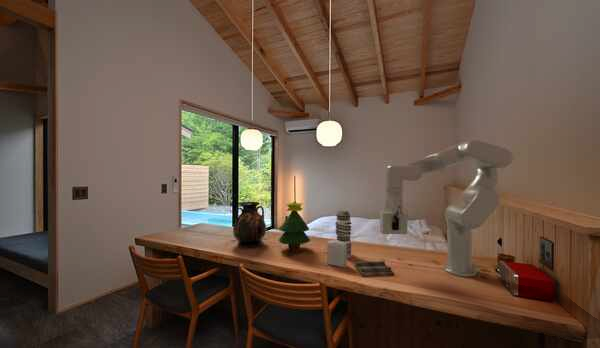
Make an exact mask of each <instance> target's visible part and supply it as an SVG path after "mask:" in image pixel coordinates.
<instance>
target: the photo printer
mask: <svg viewBox="0 0 600 348" xmlns="http://www.w3.org/2000/svg"><path fill="white" fill-rule="evenodd" d="M326 250H327V251H326V264H327V265H331V266H336V267H341V268H346V267H347V263H348V262H347V258H348V257H347V247H346V244H345V243H343V242H341V241H337V239H336V240H335V239H334V240H329V241H327V245H326Z"/></svg>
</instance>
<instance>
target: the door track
mask: <svg viewBox="0 0 600 348" xmlns="http://www.w3.org/2000/svg"><path fill="white" fill-rule="evenodd" d="M353 265H354V268H355V269H356V270H357V272H358V273H359V274H360V276H361V277H385V276H386V277H387V276H388V277H390V276H395V272H394V271H393V270H392V267H391V266H388V265H387V264H386V262H385V261H384V260H383V261H378V260H377V261H356V262H355V263H354V264H353Z"/></svg>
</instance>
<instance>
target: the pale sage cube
mask: <svg viewBox="0 0 600 348" xmlns="http://www.w3.org/2000/svg"><path fill="white" fill-rule="evenodd" d="M395 215H397V214H395ZM401 216H402V218H401V219H400V222H399V230H392V221H393V215H390V213H388V212H385V211H380V216H379V217H380V222H379V223H380V225H379V227H380V228H379V232H380V234H381V235H408V222H409V221H408V216H409V214H408V212H404V211H403V214H402V215H401ZM395 217H397V216H395Z"/></svg>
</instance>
